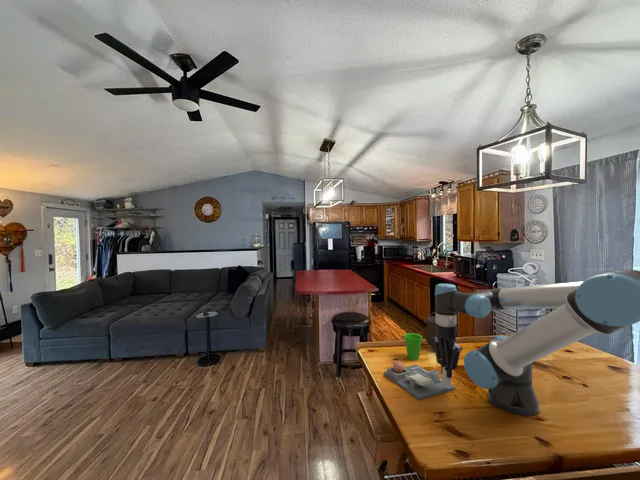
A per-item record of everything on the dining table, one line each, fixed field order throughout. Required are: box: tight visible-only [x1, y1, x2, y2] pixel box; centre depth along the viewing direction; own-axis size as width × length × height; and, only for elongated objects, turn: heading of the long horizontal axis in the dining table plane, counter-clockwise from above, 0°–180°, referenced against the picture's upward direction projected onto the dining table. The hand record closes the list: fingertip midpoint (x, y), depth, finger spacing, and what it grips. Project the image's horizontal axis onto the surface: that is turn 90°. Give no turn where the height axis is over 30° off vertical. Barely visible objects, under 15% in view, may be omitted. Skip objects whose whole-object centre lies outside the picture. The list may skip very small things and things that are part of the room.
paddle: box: [405, 373, 433, 386], centre depth 114 cm, size 10×5×1 cm, turn 22°
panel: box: [383, 364, 456, 401], centre depth 118 cm, size 22×18×4 cm
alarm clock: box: [423, 311, 437, 350], centre depth 150 cm, size 14×7×20 cm, turn 36°
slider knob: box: [427, 369, 440, 383], centre depth 117 cm, size 3×3×4 cm
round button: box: [392, 360, 405, 374], centre depth 122 cm, size 4×4×3 cm
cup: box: [403, 332, 423, 361], centre depth 141 cm, size 9×9×11 cm
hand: (446, 384), depth 110 cm, fingers closed
